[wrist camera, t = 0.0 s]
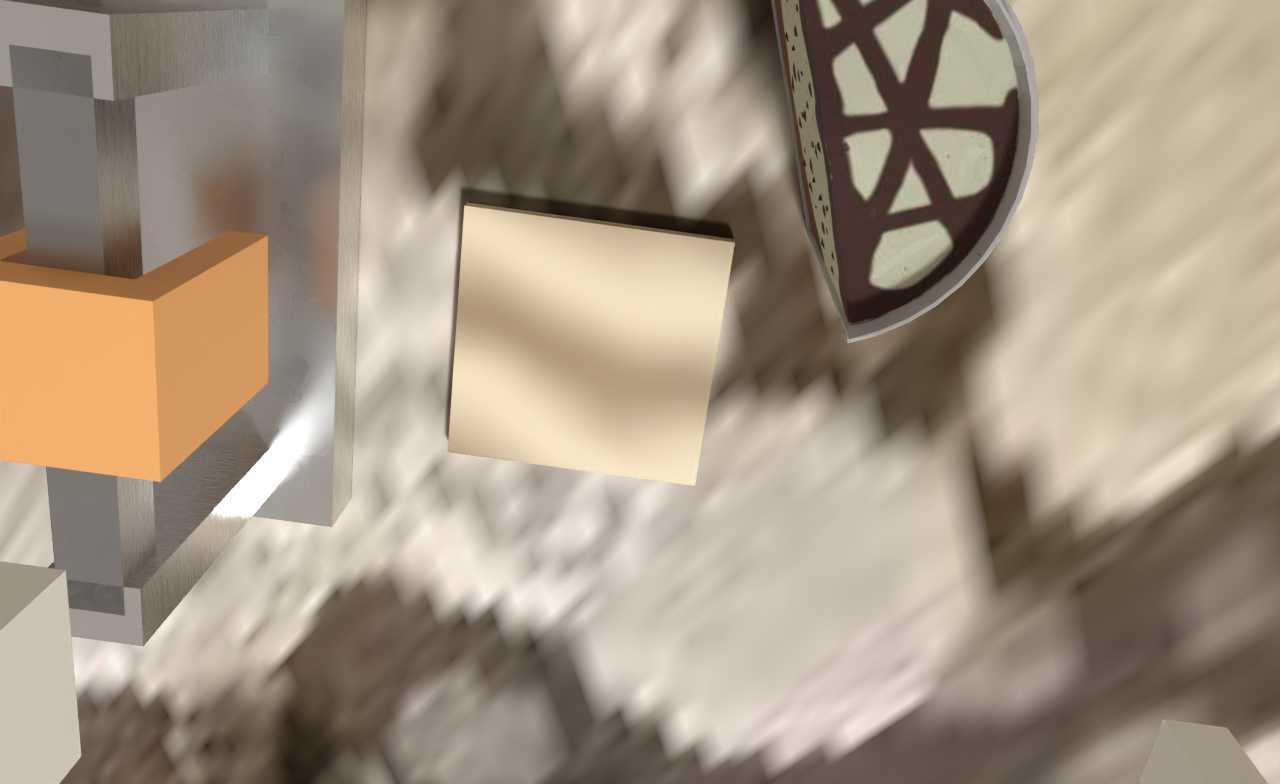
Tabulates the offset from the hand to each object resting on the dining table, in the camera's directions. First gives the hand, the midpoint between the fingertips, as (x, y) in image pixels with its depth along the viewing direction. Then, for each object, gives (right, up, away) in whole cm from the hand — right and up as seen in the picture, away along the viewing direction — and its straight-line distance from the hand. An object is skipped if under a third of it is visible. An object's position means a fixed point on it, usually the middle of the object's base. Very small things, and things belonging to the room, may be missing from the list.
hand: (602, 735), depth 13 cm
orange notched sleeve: (-15, +7, +21) cm, 27 cm away
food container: (+9, +15, +24) cm, 30 cm away
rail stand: (-14, +10, +27) cm, 32 cm away
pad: (-2, +6, +28) cm, 29 cm away
